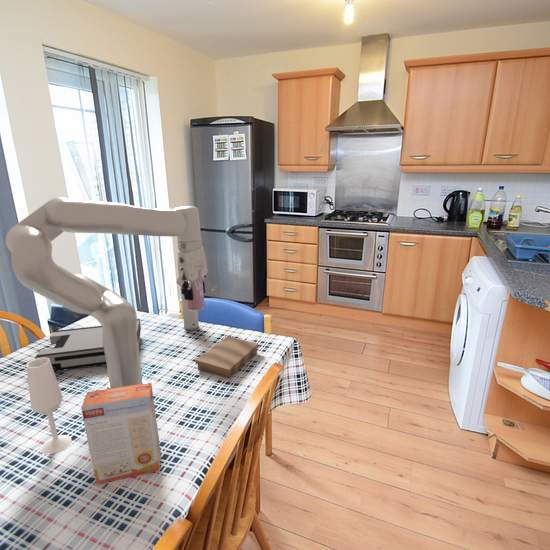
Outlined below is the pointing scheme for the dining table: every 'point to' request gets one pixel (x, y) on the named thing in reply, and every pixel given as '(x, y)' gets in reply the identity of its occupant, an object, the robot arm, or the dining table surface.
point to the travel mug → (189, 316)
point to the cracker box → (122, 432)
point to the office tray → (78, 347)
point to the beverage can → (196, 294)
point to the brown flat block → (227, 357)
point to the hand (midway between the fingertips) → (195, 295)
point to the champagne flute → (46, 399)
